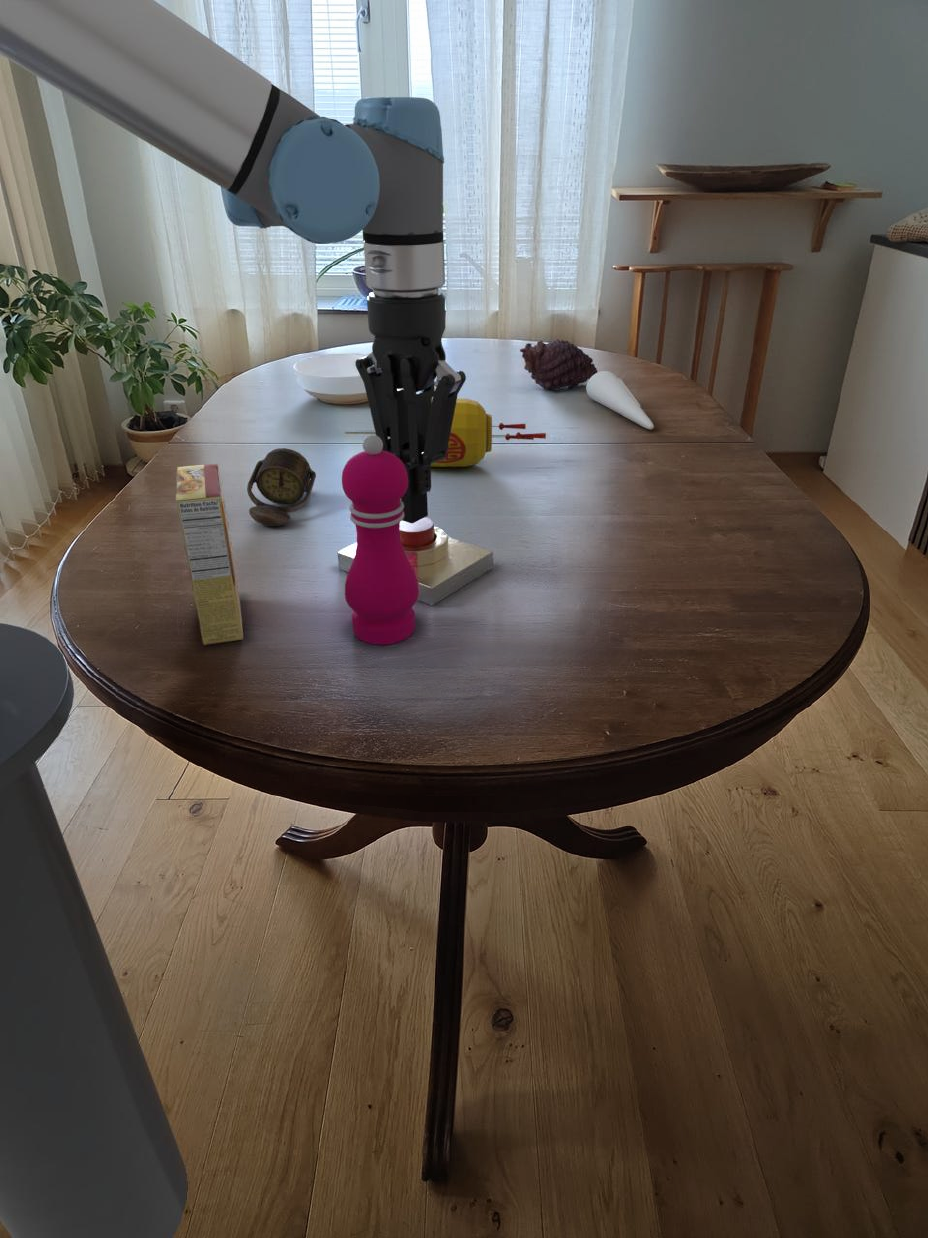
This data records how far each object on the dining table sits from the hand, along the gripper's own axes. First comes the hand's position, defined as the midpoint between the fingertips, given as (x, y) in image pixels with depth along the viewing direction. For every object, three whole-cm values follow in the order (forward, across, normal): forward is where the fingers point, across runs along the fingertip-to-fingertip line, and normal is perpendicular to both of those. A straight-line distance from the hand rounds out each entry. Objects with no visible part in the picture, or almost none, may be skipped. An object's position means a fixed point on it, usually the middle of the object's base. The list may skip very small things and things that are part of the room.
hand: (414, 517), depth 87 cm
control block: (+6, 0, 0) cm, 6 cm away
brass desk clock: (+7, -26, +2) cm, 27 cm away
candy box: (+6, -8, -21) cm, 23 cm away
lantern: (+7, -19, +29) cm, 35 cm away
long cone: (+7, -10, +68) cm, 69 cm away
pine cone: (+7, -29, +78) cm, 83 cm away
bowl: (+7, -58, +47) cm, 75 cm away
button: (+3, 0, 0) cm, 3 cm away
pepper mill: (+7, +6, -12) cm, 15 cm away
